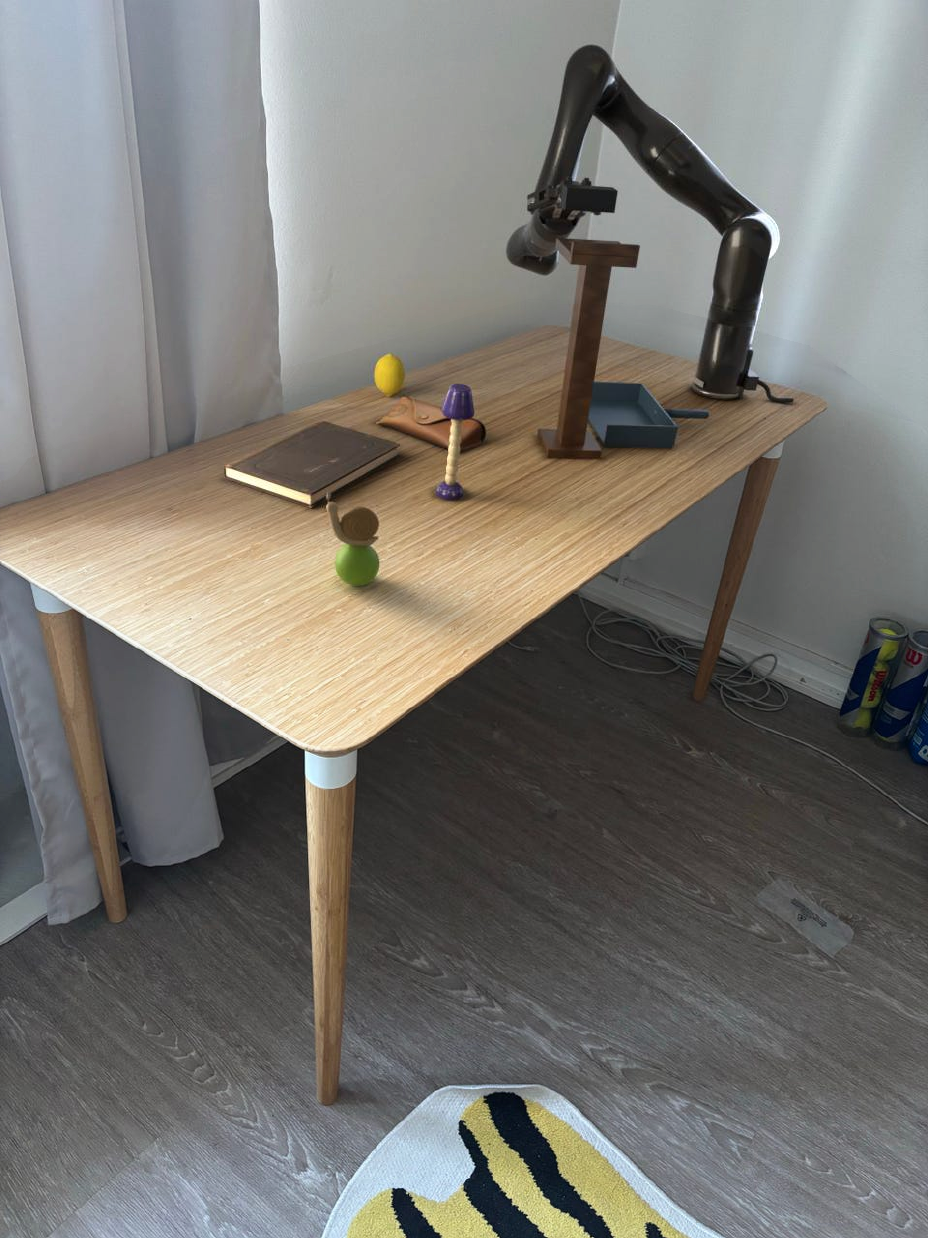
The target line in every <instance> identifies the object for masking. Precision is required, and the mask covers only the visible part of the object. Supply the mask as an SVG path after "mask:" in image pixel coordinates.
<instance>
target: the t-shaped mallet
mask: <svg viewBox="0 0 928 1238" xmlns="http://www.w3.org/2000/svg"><path fill="white" fill-rule="evenodd" d="M618 193H619V191H618V190H617V189H616V188H614V187H613V186H601V185H592V186H586V185H582V184H581V182H579V181H577V180H576V181H572V185H570V184H563V186H562V194H561V202H560V206H561V207H562V208H563V209H564V210H571V211H588V212H587V213H590V212H601V213H604V214H605V213H606V214H615V211H616V207H617V206H616V205H617V201H618V200H617V199H618Z"/></svg>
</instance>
